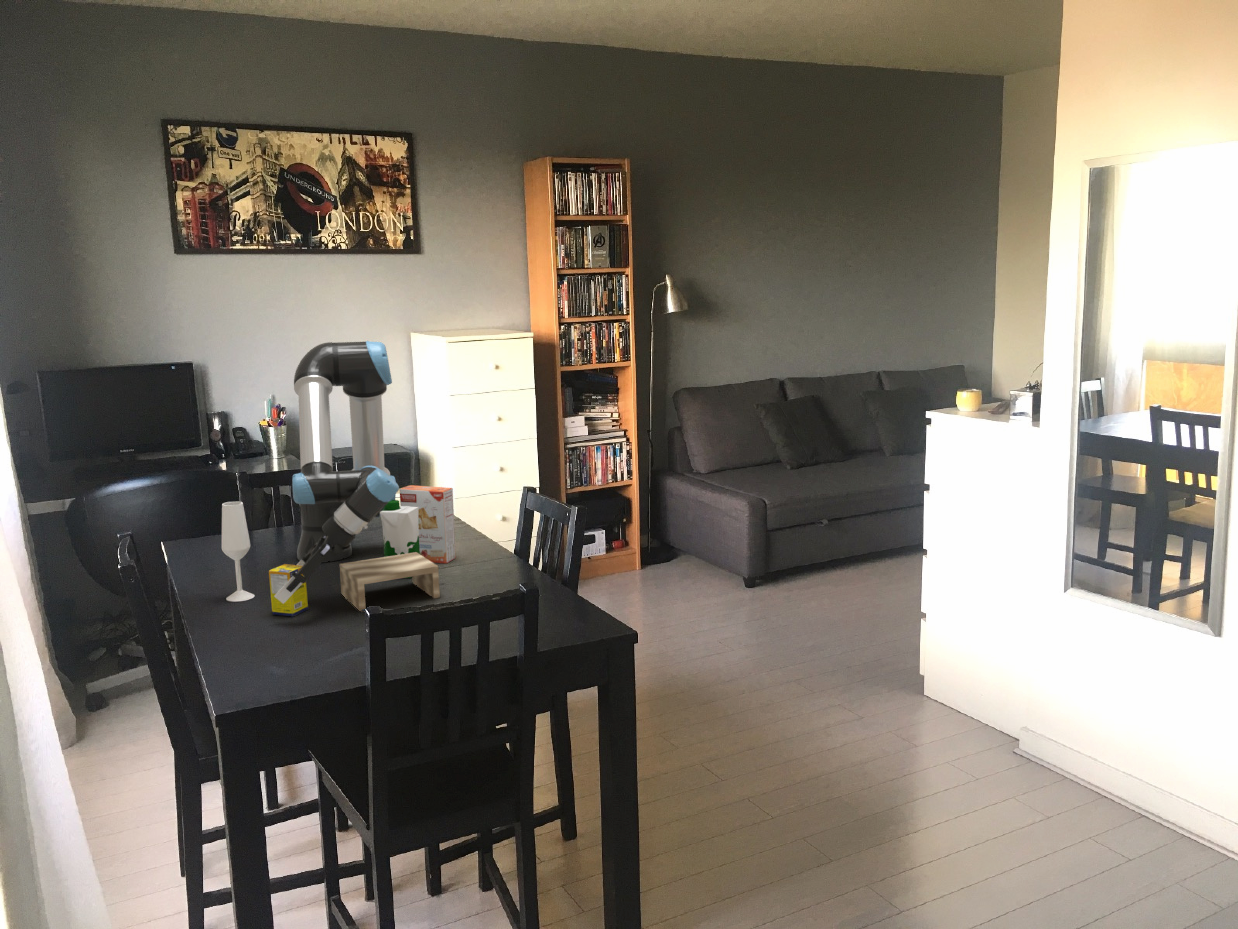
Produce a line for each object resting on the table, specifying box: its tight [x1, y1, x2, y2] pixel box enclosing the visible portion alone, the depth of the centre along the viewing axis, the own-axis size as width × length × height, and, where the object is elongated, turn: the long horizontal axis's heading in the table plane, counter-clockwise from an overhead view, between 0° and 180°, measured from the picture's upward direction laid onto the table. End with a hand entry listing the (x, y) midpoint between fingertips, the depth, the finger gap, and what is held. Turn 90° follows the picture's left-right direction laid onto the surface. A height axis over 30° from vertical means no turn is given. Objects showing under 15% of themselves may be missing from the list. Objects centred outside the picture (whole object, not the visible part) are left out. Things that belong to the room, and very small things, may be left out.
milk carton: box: [380, 499, 420, 579], centre depth 259 cm, size 9×9×20 cm
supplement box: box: [268, 563, 309, 617], centre depth 229 cm, size 6×6×11 cm
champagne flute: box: [221, 501, 255, 602], centre depth 240 cm, size 7×7×24 cm
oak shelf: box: [338, 552, 440, 612], centre depth 241 cm, size 16×20×8 cm
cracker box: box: [399, 484, 457, 565], centre depth 273 cm, size 14×6×21 cm, turn 71°
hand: (283, 591), depth 229 cm, fingers open, 13 cm apart
